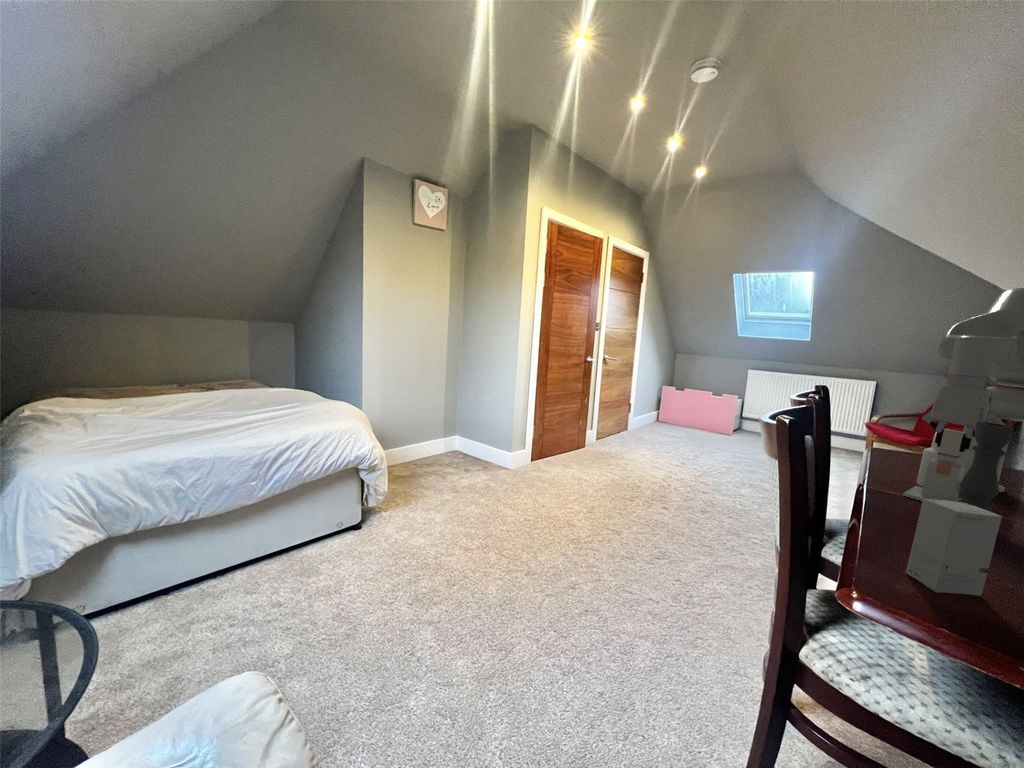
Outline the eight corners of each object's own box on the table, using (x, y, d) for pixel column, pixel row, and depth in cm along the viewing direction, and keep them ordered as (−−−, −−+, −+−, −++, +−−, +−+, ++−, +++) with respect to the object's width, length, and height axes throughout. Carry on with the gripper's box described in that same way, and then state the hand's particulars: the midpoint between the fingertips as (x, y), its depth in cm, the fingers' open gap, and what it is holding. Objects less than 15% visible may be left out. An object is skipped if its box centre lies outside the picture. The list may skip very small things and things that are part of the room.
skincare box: (935, 593, 70) (955, 512, 68) (902, 572, 76) (920, 497, 74) (984, 597, 70) (1006, 515, 68) (947, 575, 76) (966, 500, 74)
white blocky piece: (915, 489, 122) (923, 451, 120) (974, 505, 112) (985, 464, 110) (902, 496, 115) (911, 456, 113) (964, 514, 105) (975, 470, 103)
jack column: (932, 488, 116) (946, 429, 113) (951, 494, 113) (966, 432, 110) (928, 491, 114) (943, 430, 111) (948, 496, 110) (963, 433, 108)
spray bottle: (946, 493, 120) (961, 434, 117) (914, 485, 125) (927, 428, 122) (948, 488, 124) (962, 431, 121) (917, 481, 129) (930, 425, 126)
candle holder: (997, 532, 96) (1024, 429, 92) (970, 530, 96) (996, 427, 92) (968, 519, 102) (993, 422, 98) (943, 517, 102) (967, 420, 99)
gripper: (1017, 387, 104) (999, 456, 106) (927, 377, 117) (913, 439, 120) (1012, 388, 100) (994, 460, 102) (919, 378, 113) (905, 441, 116)
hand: (950, 448), depth 111 cm, fingers closed on jack column, 3 cm apart
